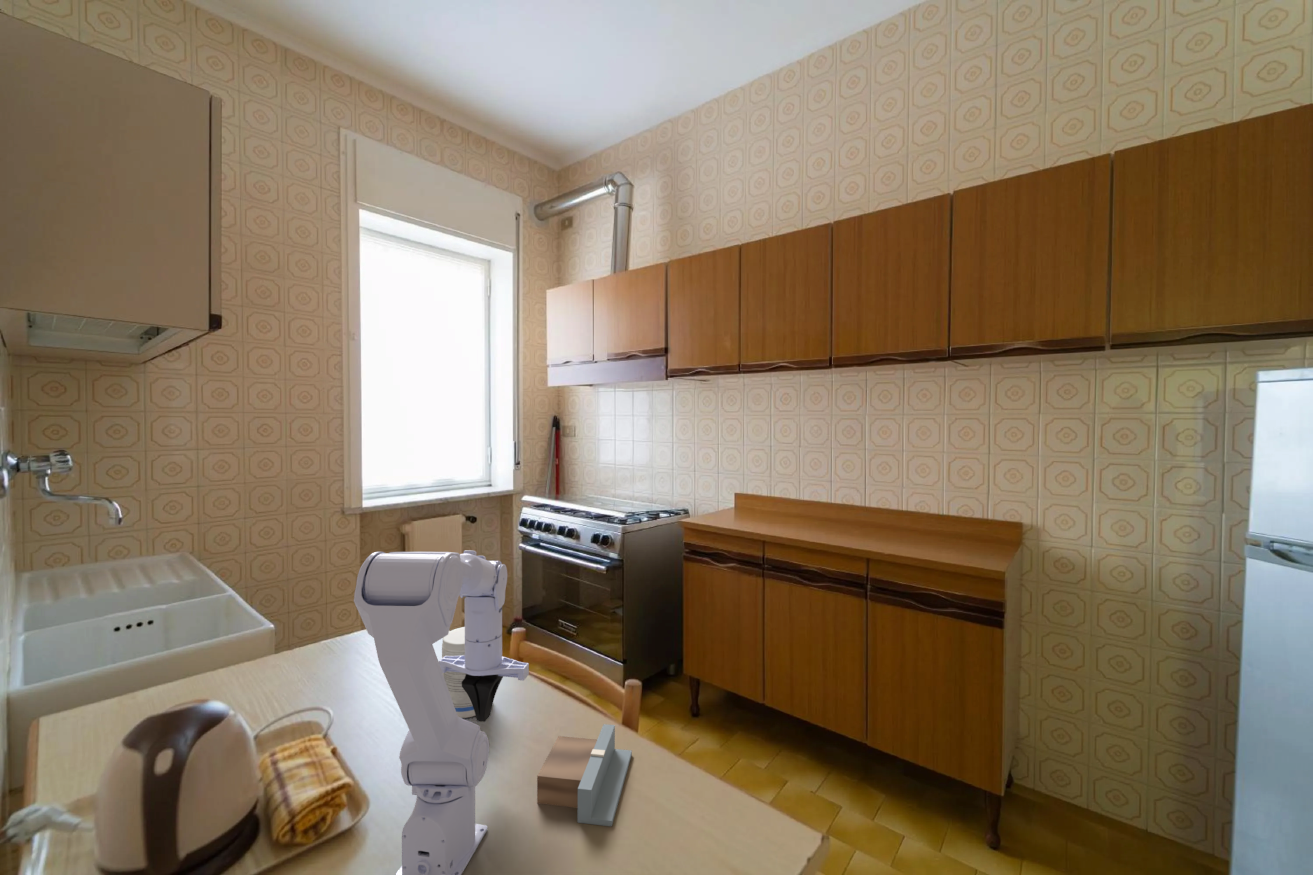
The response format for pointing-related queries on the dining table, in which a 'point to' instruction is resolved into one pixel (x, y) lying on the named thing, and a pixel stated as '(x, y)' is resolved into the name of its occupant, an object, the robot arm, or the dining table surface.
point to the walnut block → (564, 771)
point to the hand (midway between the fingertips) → (483, 717)
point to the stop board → (603, 780)
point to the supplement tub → (457, 673)
